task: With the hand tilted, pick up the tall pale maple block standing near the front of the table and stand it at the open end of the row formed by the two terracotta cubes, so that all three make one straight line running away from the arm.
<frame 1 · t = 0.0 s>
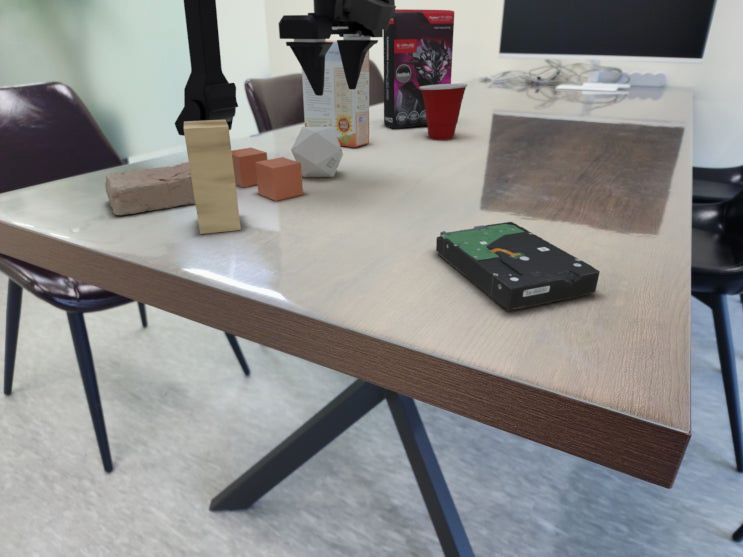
hand: (336, 92, 76), 15 cm above the table, tool pointing down, fingers open, 9 cm apart
die: (318, 176, 89), on the table
cube far: (248, 181, 85), on the table
plastic cup: (440, 138, 120), on the table
cracker box: (337, 143, 114), on the table
brick: (172, 201, 76), on the table
graphics card box: (415, 126, 134), on the table
maple block: (219, 225, 66), on the table
cube mid: (280, 194, 79), on the table
disk drive: (508, 274, 54), on the table
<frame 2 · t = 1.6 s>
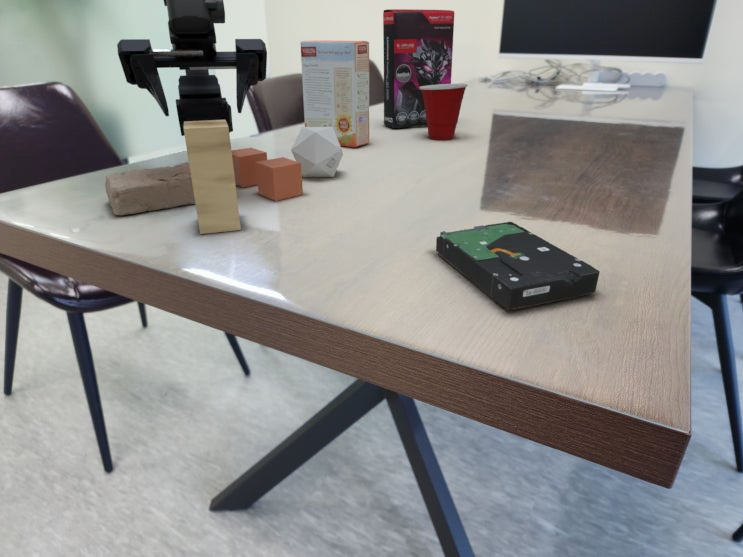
hand: (204, 112, 67), 13 cm above the table, tool tilted 45°, fingers open, 9 cm apart
nothing on the table moved.
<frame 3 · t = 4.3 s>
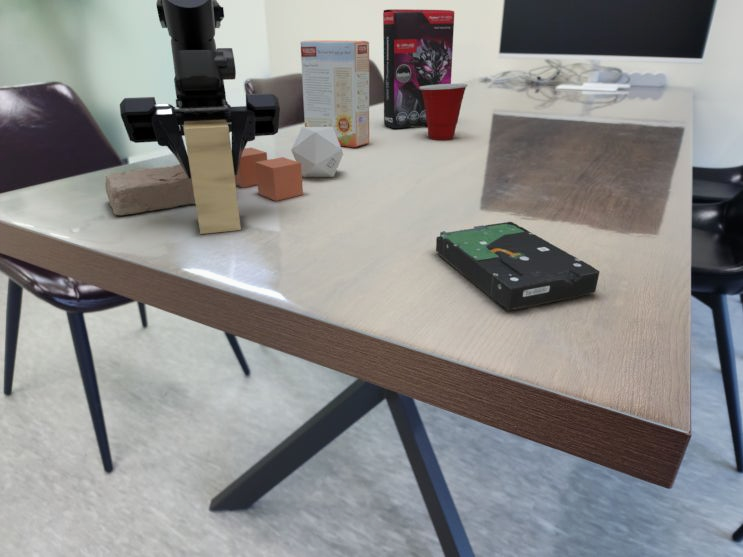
hand: (212, 175, 62), 7 cm above the table, tool tilted 45°, fingers closed on maple block, 5 cm apart
maple block: (219, 225, 66), on the table, touching gripper
everything else where it was.
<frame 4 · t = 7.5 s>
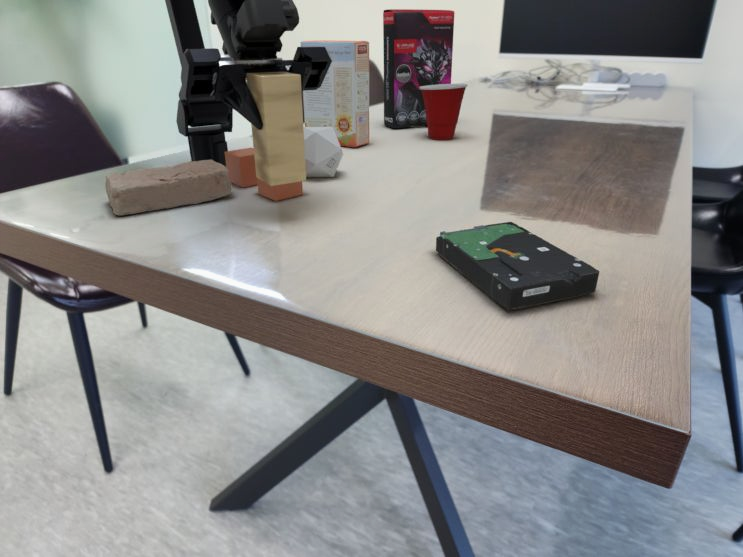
hand: (281, 125, 63), 12 cm above the table, tool tilted 45°, fingers closed on maple block, 5 cm apart
maple block: (281, 178, 67), point 5 cm above the table, touching gripper
everything else where it was.
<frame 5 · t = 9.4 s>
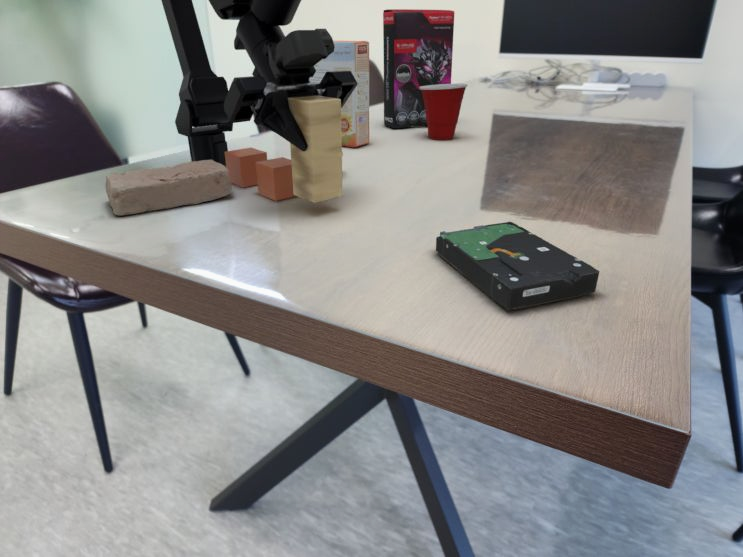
hand: (321, 146, 67), 9 cm above the table, tool tilted 45°, fingers closed on maple block, 5 cm apart
maple block: (318, 195, 71), point 2 cm above the table, touching gripper
everything else where it was.
when the fingers open (7 cm above the table, at t = 10.5 s): maple block stays where it is, on the table.
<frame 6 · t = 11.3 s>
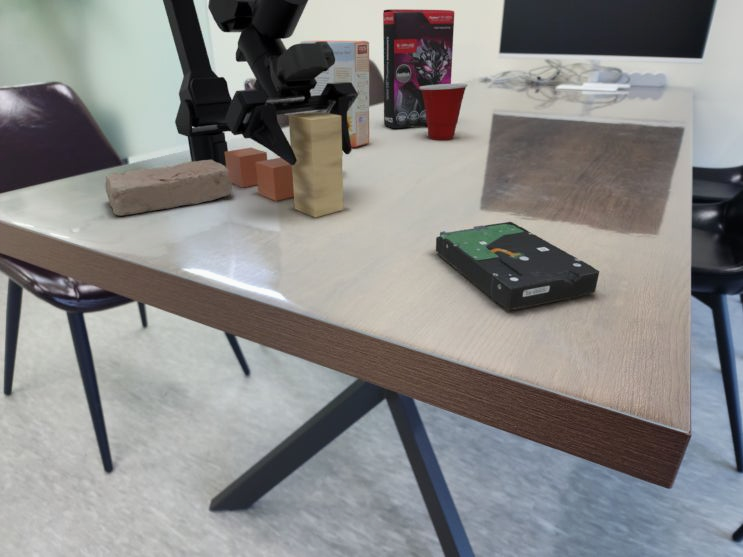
hand: (323, 157, 68), 8 cm above the table, tool tilted 45°, fingers open, 9 cm apart
maple block: (319, 209, 72), on the table
everything else where it was.
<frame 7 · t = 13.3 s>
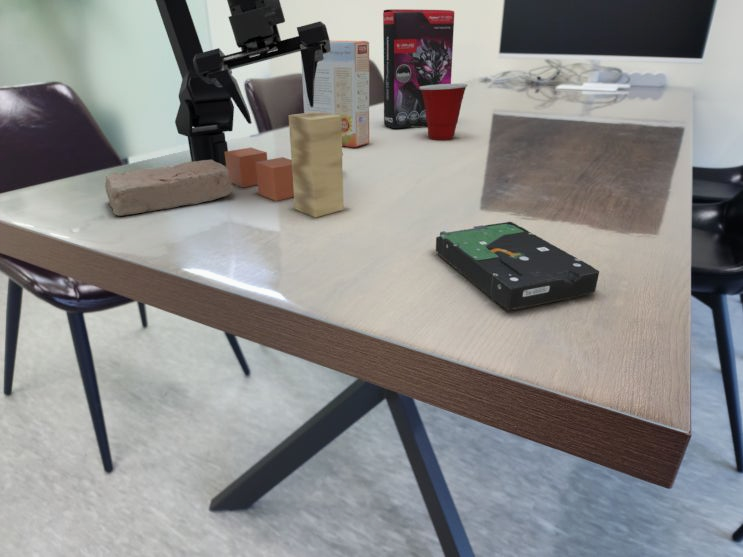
hand: (280, 115, 72), 12 cm above the table, tool tilted 25°, fingers open, 9 cm apart
nothing on the table moved.
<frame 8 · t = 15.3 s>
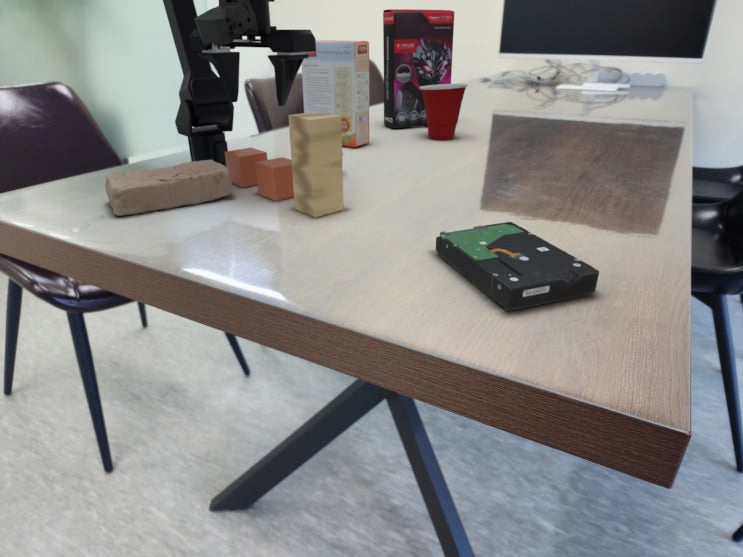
hand: (257, 104, 76), 13 cm above the table, tool pointing down, fingers open, 9 cm apart
nothing on the table moved.
at the end: maple block 0.0 cm from the target spot on the table beside the cube far, on the table; maple block tilted 0°; cube mid moved 0.0 cm from its start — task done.
